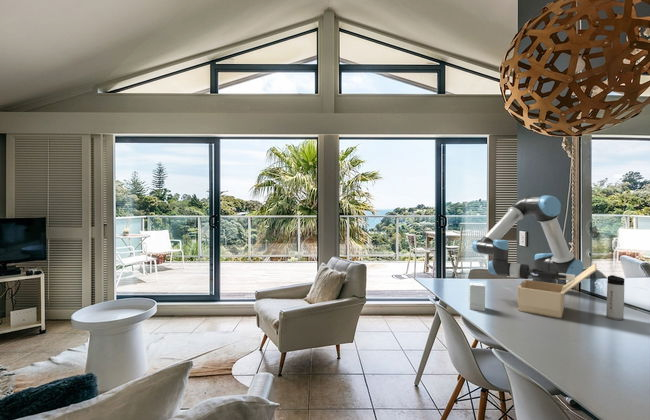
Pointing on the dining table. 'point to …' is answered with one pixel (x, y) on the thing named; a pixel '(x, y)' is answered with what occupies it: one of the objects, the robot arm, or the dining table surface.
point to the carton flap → (580, 278)
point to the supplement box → (477, 296)
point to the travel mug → (615, 298)
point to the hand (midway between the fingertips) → (574, 277)
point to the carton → (541, 298)
